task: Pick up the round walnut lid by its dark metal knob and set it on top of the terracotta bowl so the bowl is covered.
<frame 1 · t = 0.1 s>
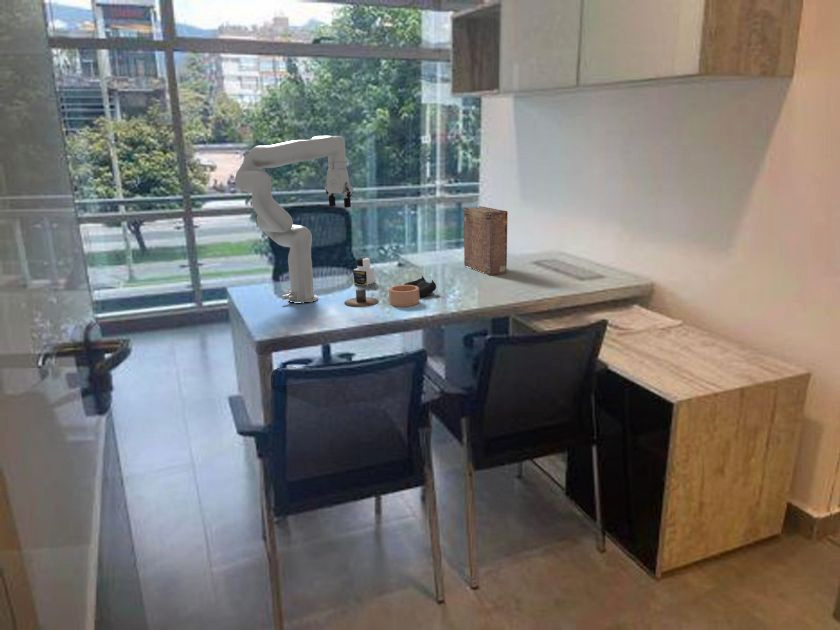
hand: (339, 206, 271), 37 cm above the table, tool pointing down, fingers open, 9 cm apart
walnut lid: (361, 303, 259), on the table
terracotta bowl: (404, 302, 256), on the table
brown lidded box: (484, 270, 311), on the table
gaming controller: (420, 293, 271), on the table
medicine bottle: (364, 283, 290), on the table
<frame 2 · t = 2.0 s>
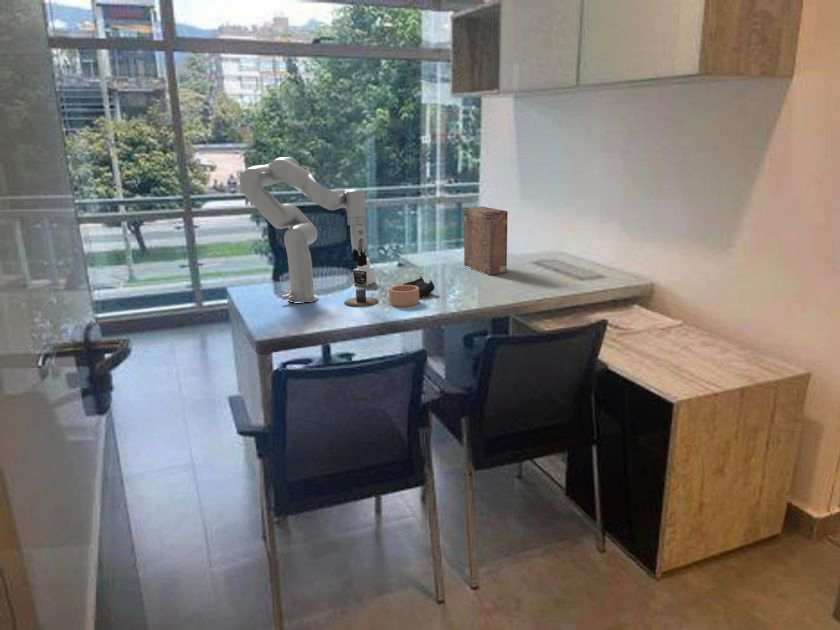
hand: (360, 263, 254), 16 cm above the table, tool pointing down, fingers open, 9 cm apart
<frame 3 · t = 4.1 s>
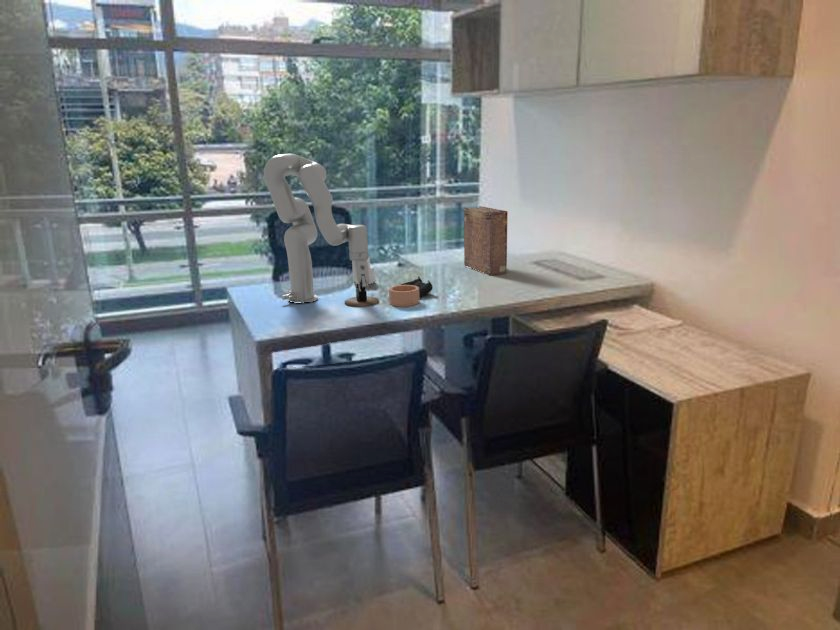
hand: (361, 299, 258), 1 cm above the table, tool pointing down, fingers closed on walnut lid, 4 cm apart
walnut lid: (361, 302, 259), on the table, touching gripper
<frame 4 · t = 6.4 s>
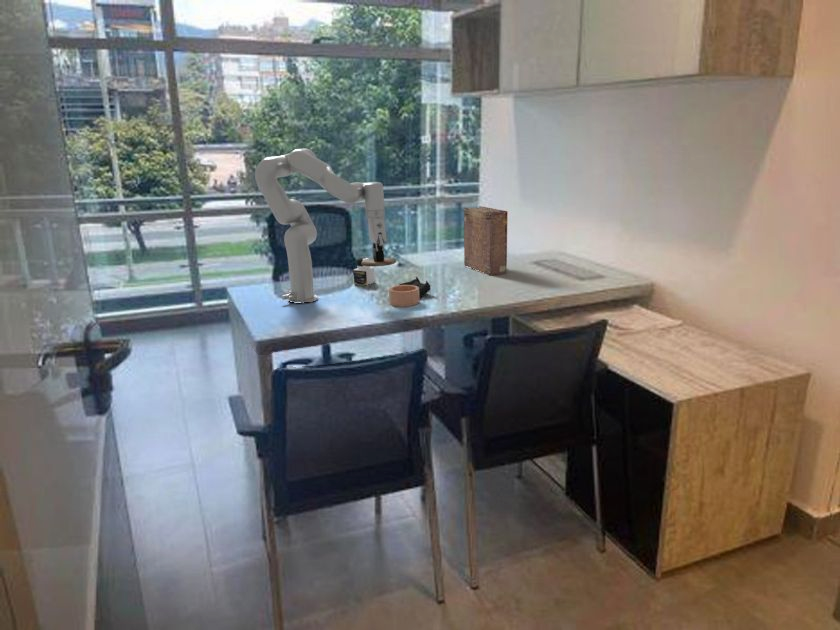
hand: (378, 259, 252), 18 cm above the table, tool pointing down, fingers closed on walnut lid, 4 cm apart
walnut lid: (378, 262, 253), point 17 cm above the table, touching gripper
gaming controller: (414, 294, 270), on the table
everything else where it was.
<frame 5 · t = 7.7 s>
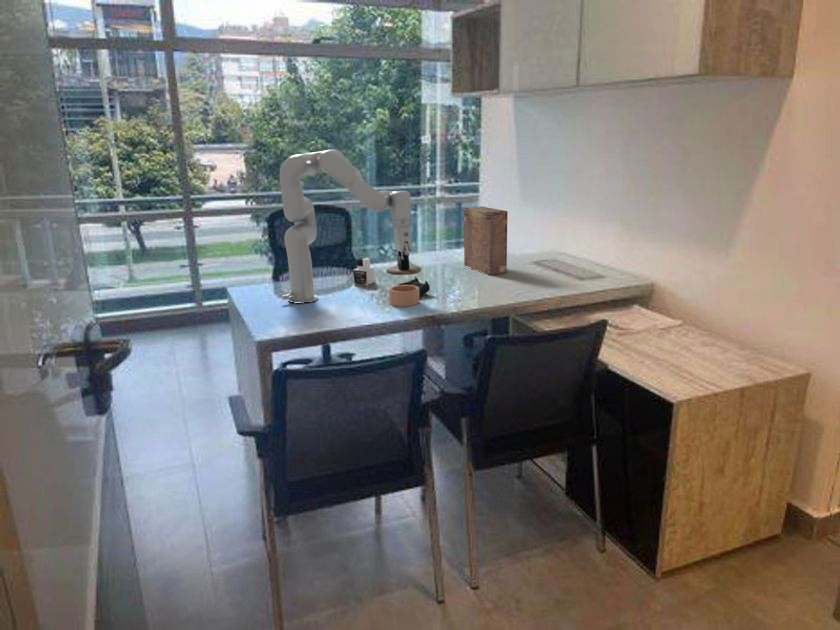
hand: (403, 267, 252), 15 cm above the table, tool pointing down, fingers closed on walnut lid, 4 cm apart
walnut lid: (403, 271, 252), point 13 cm above the table, touching gripper
when the fingers open (9 cm above the table, at t = 8.9 s): walnut lid drops 1 cm, resting on terracotta bowl.
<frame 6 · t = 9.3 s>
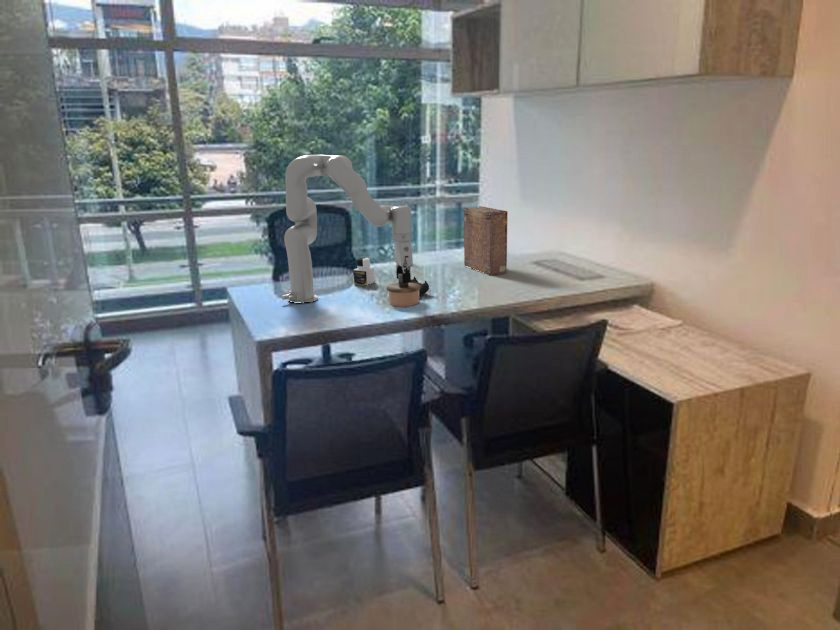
hand: (403, 280, 254), 9 cm above the table, tool pointing down, fingers open, 7 cm apart
walnut lid: (403, 288, 254), point 6 cm above the table, touching terracotta bowl
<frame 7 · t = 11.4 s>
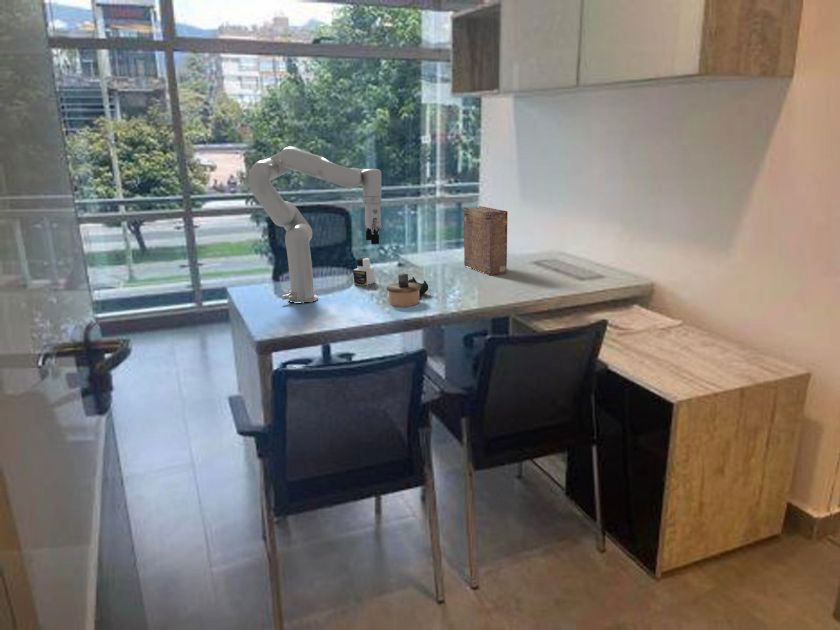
hand: (372, 242, 258), 24 cm above the table, tool pointing down, fingers open, 9 cm apart
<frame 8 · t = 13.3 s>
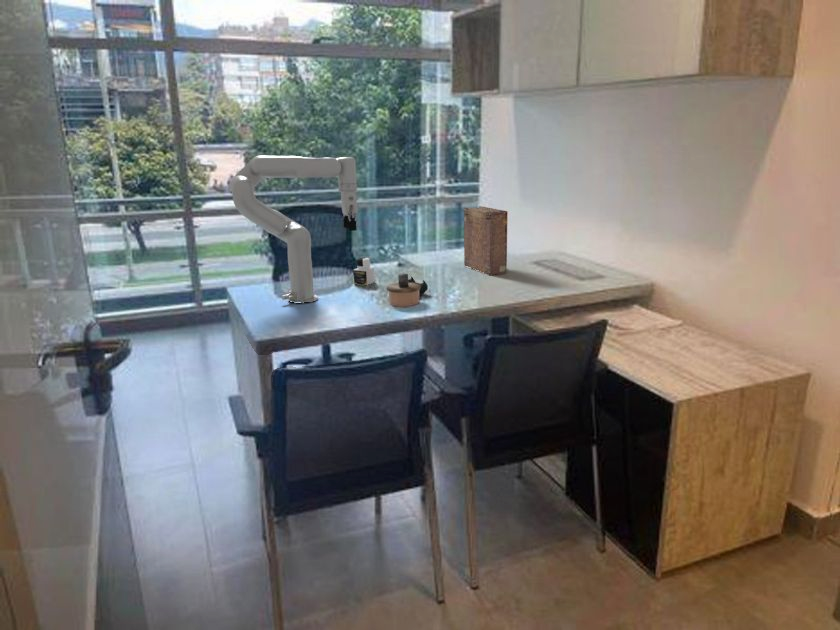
hand: (350, 228, 265), 28 cm above the table, tool pointing down, fingers open, 9 cm apart
at the end: walnut lid 0.1 cm from the terracotta bowl (horizontally); walnut lid point 6.0 cm above the table; walnut lid tilted 0° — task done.
